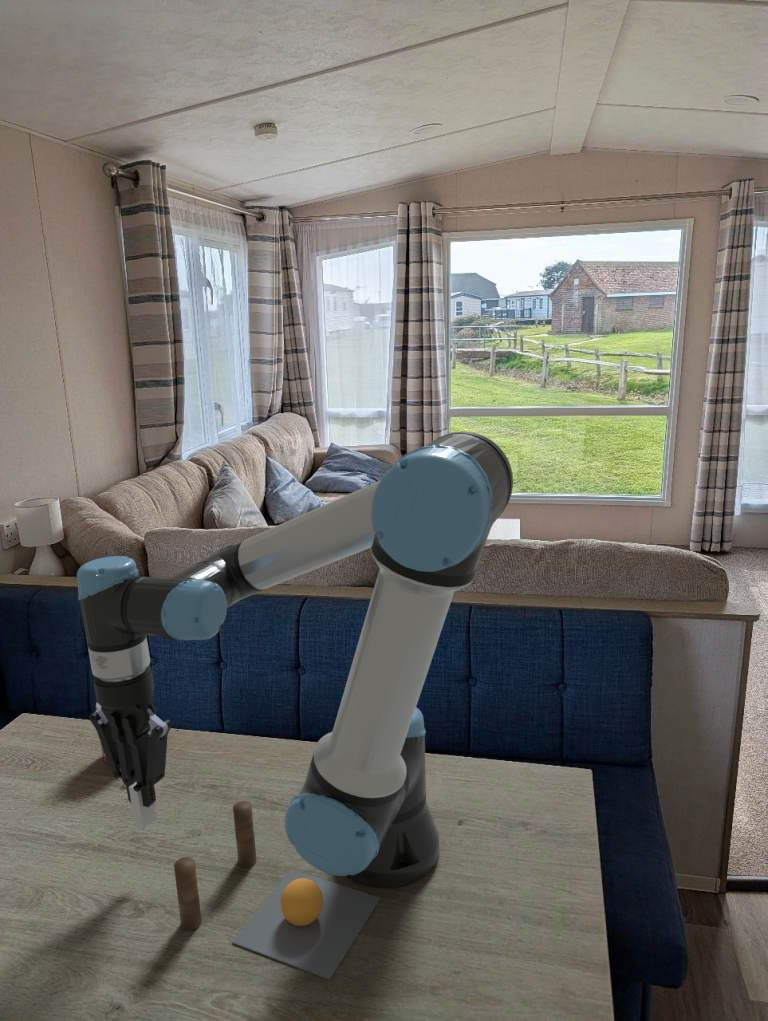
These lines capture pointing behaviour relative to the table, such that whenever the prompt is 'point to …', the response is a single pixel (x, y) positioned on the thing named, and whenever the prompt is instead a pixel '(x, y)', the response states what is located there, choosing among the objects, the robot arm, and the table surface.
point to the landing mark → (309, 928)
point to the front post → (187, 893)
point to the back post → (244, 833)
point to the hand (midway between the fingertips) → (145, 822)
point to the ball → (301, 902)
